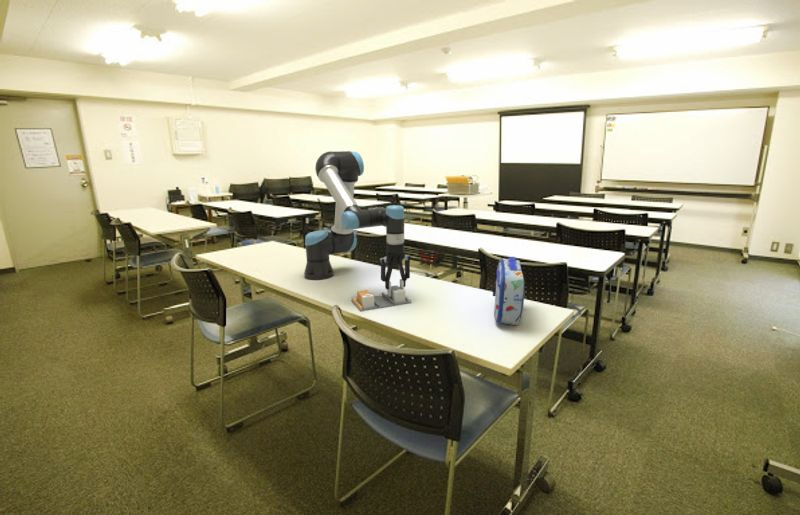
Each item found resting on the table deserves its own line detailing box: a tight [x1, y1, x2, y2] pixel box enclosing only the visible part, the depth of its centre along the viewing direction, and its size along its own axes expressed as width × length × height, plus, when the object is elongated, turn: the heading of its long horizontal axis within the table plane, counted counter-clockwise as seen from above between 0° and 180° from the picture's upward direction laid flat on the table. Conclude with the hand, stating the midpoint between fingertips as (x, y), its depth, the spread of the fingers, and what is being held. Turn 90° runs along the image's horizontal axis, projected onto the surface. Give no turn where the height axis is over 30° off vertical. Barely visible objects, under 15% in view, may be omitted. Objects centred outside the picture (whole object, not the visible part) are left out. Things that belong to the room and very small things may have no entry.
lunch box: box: [492, 256, 525, 326], centre depth 146 cm, size 28×10×22 cm, turn 168°
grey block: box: [388, 285, 406, 303], centre depth 167 cm, size 9×5×5 cm, turn 23°
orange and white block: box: [356, 289, 375, 308], centre depth 161 cm, size 9×5×5 cm, turn 23°
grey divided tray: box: [350, 292, 412, 312], centre depth 165 cm, size 13×22×2 cm, turn 113°
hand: (395, 294), depth 168 cm, fingers open, 5 cm apart
